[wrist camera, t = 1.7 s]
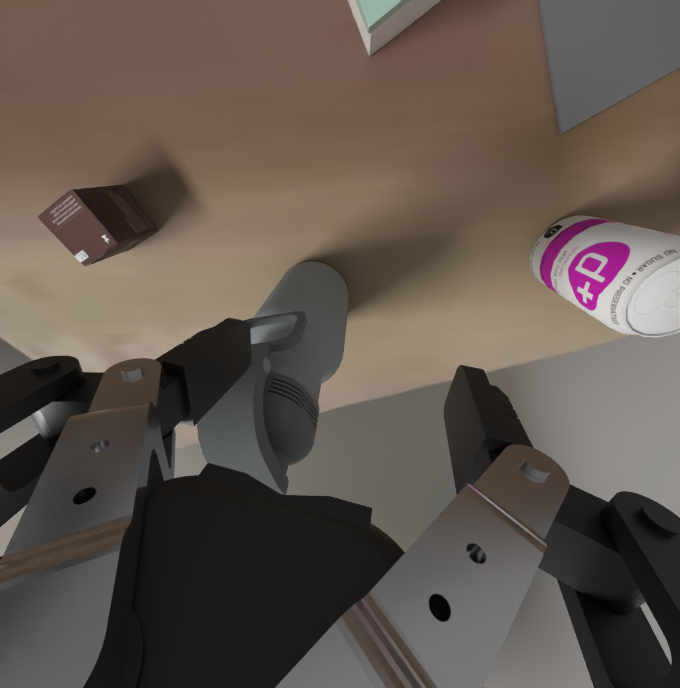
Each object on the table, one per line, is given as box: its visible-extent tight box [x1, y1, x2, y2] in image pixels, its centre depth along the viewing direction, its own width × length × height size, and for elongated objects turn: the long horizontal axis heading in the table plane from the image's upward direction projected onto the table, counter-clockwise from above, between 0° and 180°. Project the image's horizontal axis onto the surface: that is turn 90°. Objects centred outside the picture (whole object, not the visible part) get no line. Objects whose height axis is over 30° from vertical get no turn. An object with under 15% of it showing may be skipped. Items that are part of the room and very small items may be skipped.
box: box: [38, 185, 157, 266], centre depth 34 cm, size 6×6×7 cm
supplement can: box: [529, 215, 680, 337], centre depth 29 cm, size 8×8×15 cm
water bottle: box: [197, 261, 349, 495], centre depth 28 cm, size 10×10×28 cm
